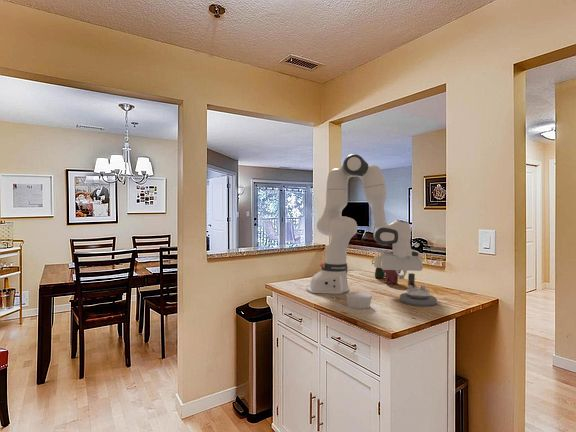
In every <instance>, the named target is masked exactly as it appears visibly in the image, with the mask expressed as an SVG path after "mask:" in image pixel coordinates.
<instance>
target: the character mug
mask: <svg viewBox="0 0 576 432" xmlns="http://www.w3.org/2000/svg"><path fill="white" fill-rule="evenodd" d="M371 265H373V267H374V268H375V271H374V277H375V278H378V279H383V278H385V273H384V272H383V269H382V268H381V255H379V256H378V255H377V256H374V257H373V258H372V259H371Z"/></svg>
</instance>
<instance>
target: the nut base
mask: <svg viewBox="0 0 576 432" xmlns="http://www.w3.org/2000/svg"><path fill="white" fill-rule="evenodd" d="M437 300H438V299H437V297H435V296H433V295H432V294H430V298H428V299H415V298H411V297H408V296H407V292H404V293H401V294H399V302H401V303H403V304H405V305H409V306H414V307H434V306H436V305H437Z"/></svg>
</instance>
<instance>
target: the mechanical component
mask: <svg viewBox="0 0 576 432" xmlns="http://www.w3.org/2000/svg"><path fill="white" fill-rule="evenodd" d="M401 271H402V270H399V272H398V273H399V274H401ZM383 272H384V273H385V277H384V281H386V283H387V284H388V285H396V284H398V281H399V279H398V274H397V273H396V270H383Z"/></svg>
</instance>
